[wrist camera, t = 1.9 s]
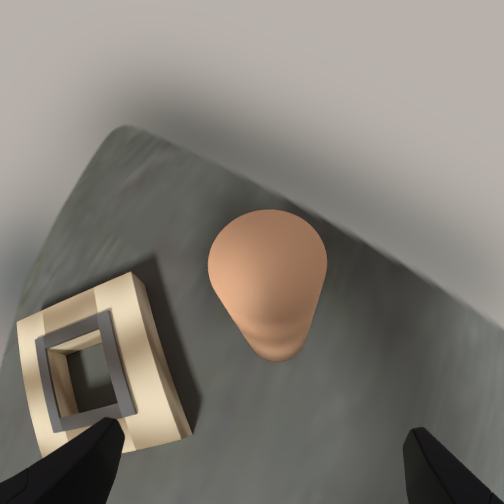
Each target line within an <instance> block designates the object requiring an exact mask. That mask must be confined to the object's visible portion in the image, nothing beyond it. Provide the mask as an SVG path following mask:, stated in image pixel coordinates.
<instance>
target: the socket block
mask: <svg viewBox="0 0 504 504" xmlns="http://www.w3.org/2000/svg"><path fill="white" fill-rule="evenodd" d="M17 331H18V341H19V350H20V358H21V365H22V372H23V378H24V384H25V389H26V394H27V399H28V404H29V409H30V413H31V418H32V422H33V426H34V430H35V434H36V437H37V441H38V444H39V448H40V451H41V454H42V458H44V457H45V456H47V455H48V454H50V453H51V452H53V451H55V450H56V449H58V448H59V447H61V446H62V445H64V444H65V443H67V442H68V441H70V440H71V439H73V438H74V437H76V436H77V435H79V434H80V433H82V432H83V431H85V430H86V429H88V428H89V427H91V426H92V425H93V424H95V423H96V422H98V421H99V420H101V419H102V418H104V417H111V418H115V419H117V420H118V421H119V423H120V425H121V427H122V429H123V432H124V434H125V442H124V446H123V450H122V453H125V452H130V451H135V450H139V449H144V448H148V447H152V446H156V445H160V444H164V443H168V442H172V441H176V440H179V439H183V438H186V437H189V436H192V435H193V434H192V432H191V429H190V427H189V424H188V421H187V419H186V416H185V414H184V411H183V408H182V405H181V403H180V400H179V397H178V394H177V391H176V389H175V386H174V383H173V380H172V377H171V374H170V371H169V368H168V365H167V362H166V358H165V355H164V352H163V349H162V346H161V342H160V339H159V336H158V332H157V329H156V325H155V322H154V318H153V315H152V311H151V308H150V304H149V300H148V296H147V292H146V289H145V285H144V283H143V282H142V281H141V280H139V279H138V278H137V277H136V276H135V275H134V274H133V273H132V272H129V273H126V274H124V275H122V276H119V277H117V278H115V279H112V280H110V281H108V282H105V283H103V284H101V285H99V286H96V287H94V288H92V289H89V290H87V291H85V292H82V293H80V294H78V295H76V296H73V297H71V298H69V299H67V300H64V301H62V302H60V303H58V304H55V305H53V306H51V307H49V308H47V309H44V310H42V311H40V312H38V313H36V314H33V315H31V316H29V317H27V318H25V319H22V320H20V321H18V322H17ZM101 342H102V344H103V348H104V353H105V357H106V361H107V365H108V369H109V373H110V377H111V380H112V384H113V388H114V391H115V395H116V398H117V401H118V403H117V404H113V405H109V406H106V407H102V408H98V409H94V410H90V411H86V412H82V413H79V411H78V408H77V404H76V400H75V396H74V392H73V388H72V383H71V379H70V374H69V369H68V364H67V359H66V355H68V354H71V353H74V352H76V351H79V350H82V349H85V348H88V347H90V346H93V345H96V344H98V343H101Z"/></svg>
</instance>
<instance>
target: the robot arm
mask: <svg viewBox="0 0 504 504" xmlns="http://www.w3.org/2000/svg"><path fill="white" fill-rule="evenodd" d="M124 442H125V434H124V432H123V429H122V427H121V425H120V423H119V421H118V420H117V419H115V418H111V417H104V418H102V419H101V420H99V421H98V422H96V423H95V424H93V425H92V426H91V427H89V428H88V429H86V430H85V431H83V432H82V433H80V434H79V435H77V436H76V437H74V438H73V439H71V440H70V441H68V442H67V443H65V444H64V445H62V446H61V447H59V448H58V449H56V450H55V451H53V452H51V453H50V454H48V455H47V456H45V457H44V458H42V459H41V460H39V461H37V462H36V463H34V464H33V465H31V466H30V467H29V468H26V469H25V470H23V471H21V472H20V473H18V474H16V475H15V476H13V477H11V478H9V479H7V480H5V481H3V482H1V483H0V504H106V501H107V499H108V496H109V493H110V491H111V488H112V485H113V483H114V480H115V477H116V474H117V470H118V466H119V462H120V458H121V454H122V450H123V446H124ZM403 457H404V467H405V479H406V491H407V497H408V502H409V504H504V502H503V501H502V500H501V499H499V498H498V497H497V496H496V495H495V494H494V493H493V492H491V490H490V489H489V488H488V487H487V486H485V485H484V484H483V483H482V482H481V481H480V480H479V479H478V478H477V477H476V476H475V475H474V474H473V473H472V472H471V471H470V470H469V469H467V468H466V467H465V466H464V465H463V464H462V463H461V462H460V461H459V460H458V459H457V458H456V457H455V456H454V455H453V454H452V453H451V452H450V451H448V450H447V449H446V448H445V447H444V446H443V445H442V444H441V443H440V442H439V441H438V440H437V439H436V438H435V437H434V436H433V435H432V434H431V433H430V432H429V431H427V430H426V429H425V428H424V427H419V428H413V429H411V430H410V431H409V434H408V436H407V438H406V440H405V442H404V445H403Z"/></svg>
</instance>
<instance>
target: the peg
mask: <svg viewBox="0 0 504 504" xmlns="http://www.w3.org/2000/svg"><path fill="white" fill-rule="evenodd" d="M326 270H327V254H326V250H325V247H324V244H323V242H322V240H321V238H320V236H319V235H318V233H317V232H316V231H315V229H314V228H313V227H312V226H311V225H310V224H309V223H307V222H306V221H305V220H303V219H302V218H300V217H298V216H296V215H294V214H292V213H288V212H285V211H280V210H271V209H270V210H258V211H253V212H250V213H247V214H244V215H242V216H240V217H238V218H236V219H235V220H233V221H232V222H230V223H229V224H228V225H227V226H226V227H224V229H223V230H222V231H221V232H220V233H219V234H218V236H217V237H216V239H215V241H214V243H213V245H212V247H211V250H210V254H209V258H208V273H209V277H210V281H211V284H212V286H213V288H214V290H215V292H216V294H217V295H218V297H219V298H220V300H221V301H222V303H223V304H224V306H225V308H226V309H227V311H228V312H229V314H230V315H231V317H232V318H233V320H234V322H235V323H236V325H237V326H238V328H239V329H240V331H241V332H242V334H243V335H244V337H245V338H246V340H247V341H248V343H249V344H250V346H251V347H252V349H253V350H254V351H255V353H256V354H257V355H259V356H260V357H262V358H263V359H266V360H268V361H273V362H281V361H285V360H288V359H291V358H292V357H294V356H295V355H297V354H298V353H299V352H300V350H301V349H302V348H303V346H304V344H305V341H306V338H307V335H308V332H309V329H310V325H311V322H312V319H313V316H314V313H315V309H316V306H317V303H318V299H319V296H320V293H321V289H322V286H323V283H324V279H325V275H326Z"/></svg>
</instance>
